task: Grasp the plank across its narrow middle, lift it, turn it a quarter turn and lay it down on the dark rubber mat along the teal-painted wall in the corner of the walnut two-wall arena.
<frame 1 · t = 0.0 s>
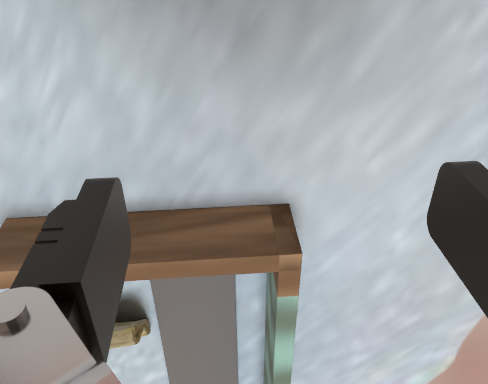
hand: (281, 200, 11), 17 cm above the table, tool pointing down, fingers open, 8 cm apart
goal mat: (198, 331, 40), on the table
plank: (16, 322, 38), on the table
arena: (278, 212, 33), on the table
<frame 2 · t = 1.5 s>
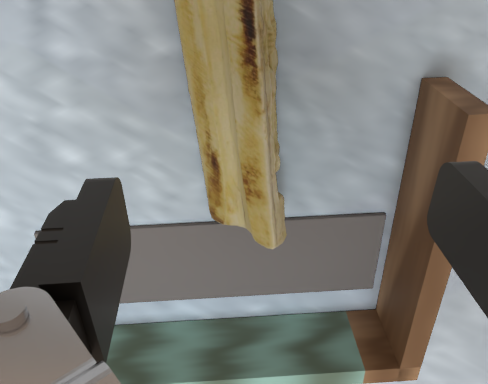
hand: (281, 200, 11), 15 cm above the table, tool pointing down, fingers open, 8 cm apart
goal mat: (215, 260, 32), on the table
plank: (224, 31, 23), on the table
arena: (383, 315, 36), on the table
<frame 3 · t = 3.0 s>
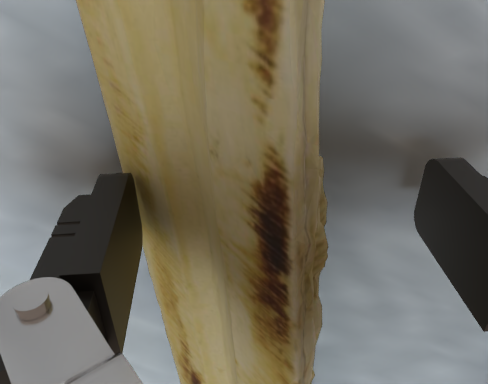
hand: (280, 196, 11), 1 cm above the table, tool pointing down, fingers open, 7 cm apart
plank: (216, 172, 12), on the table, touching gripper
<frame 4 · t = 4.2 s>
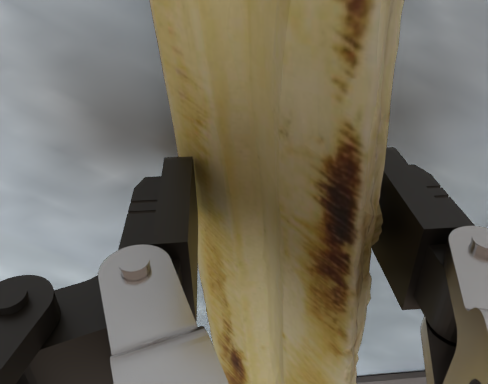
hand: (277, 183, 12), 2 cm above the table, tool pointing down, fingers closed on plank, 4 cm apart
plank: (261, 158, 13), point 1 cm above the table, touching gripper
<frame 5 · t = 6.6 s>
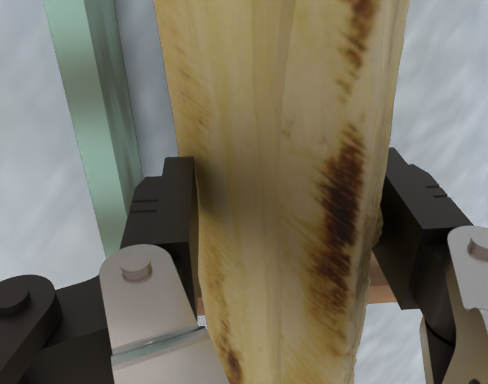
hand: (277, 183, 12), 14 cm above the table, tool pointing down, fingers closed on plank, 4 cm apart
plank: (261, 159, 13), point 12 cm above the table, touching gripper
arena: (143, 249, 30), on the table
when the fingers open (3 cm above the table, at t = 8.8 s): plank stays where it is, resting on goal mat.
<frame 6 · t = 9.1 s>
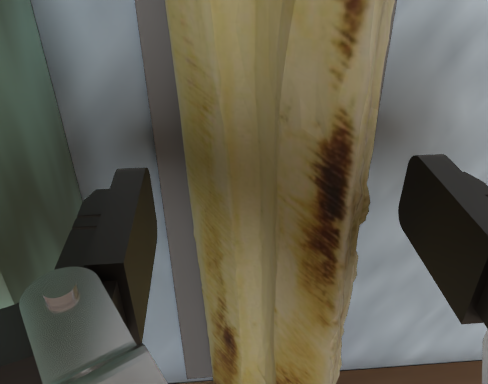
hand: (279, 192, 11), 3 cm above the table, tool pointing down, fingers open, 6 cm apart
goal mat: (265, 138, 14), on the table
plank: (259, 146, 14), resting on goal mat
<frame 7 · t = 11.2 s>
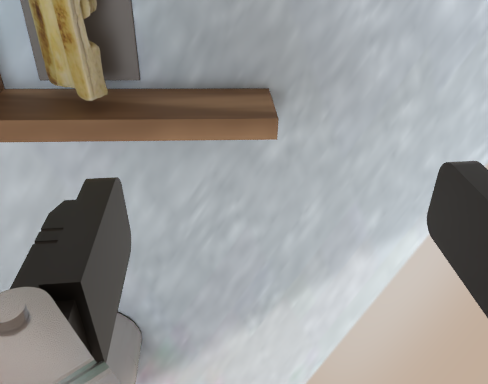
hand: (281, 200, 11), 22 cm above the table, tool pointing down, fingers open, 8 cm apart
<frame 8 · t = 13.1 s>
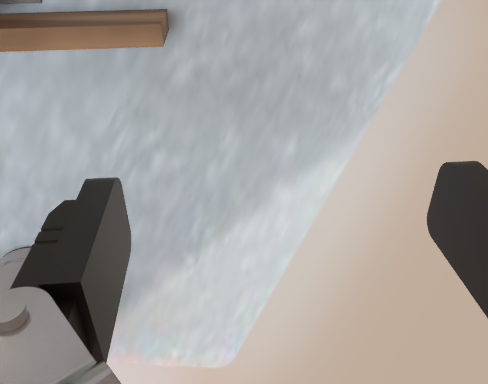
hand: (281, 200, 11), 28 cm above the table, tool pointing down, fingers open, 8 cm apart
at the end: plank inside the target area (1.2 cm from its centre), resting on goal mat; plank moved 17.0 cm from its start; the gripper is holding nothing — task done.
